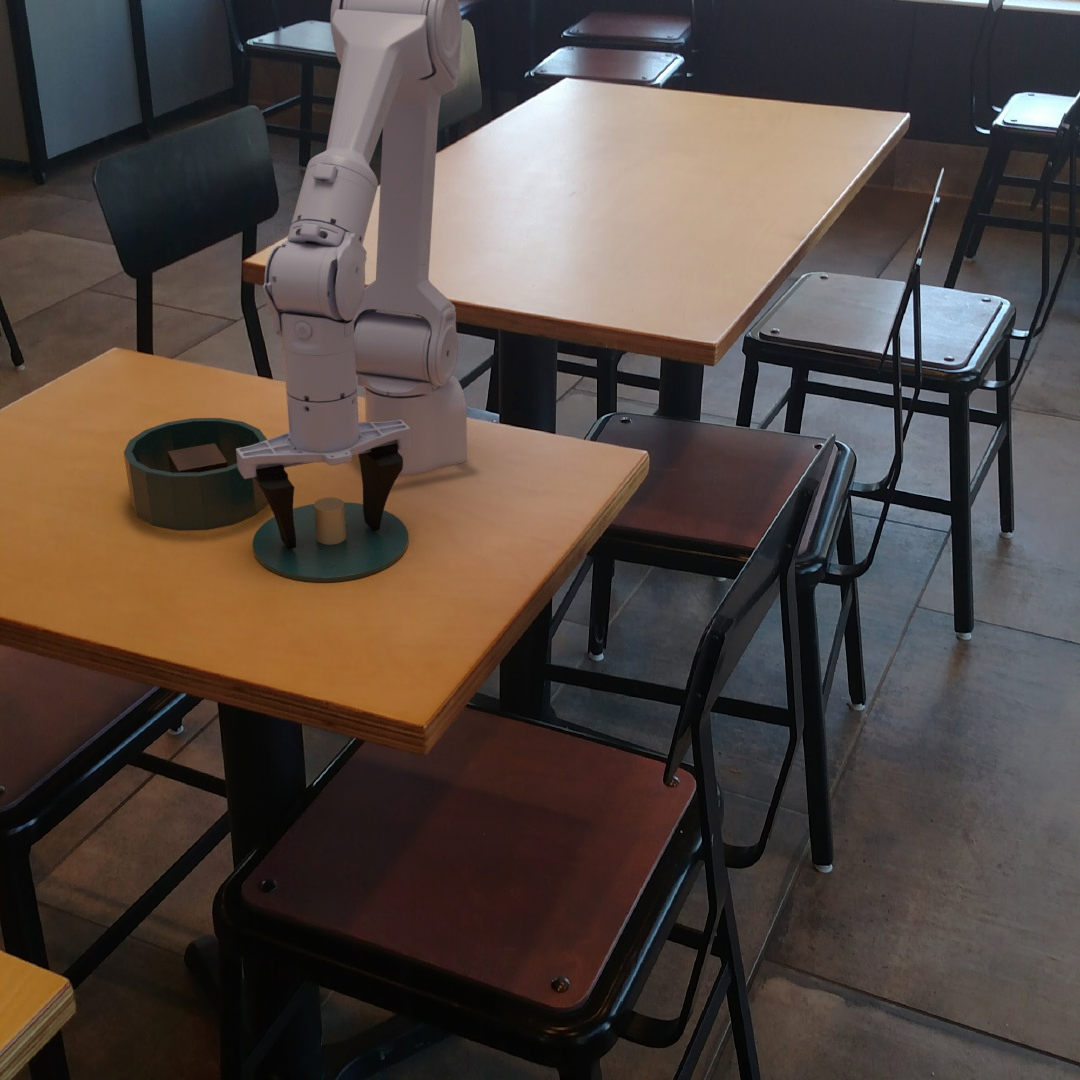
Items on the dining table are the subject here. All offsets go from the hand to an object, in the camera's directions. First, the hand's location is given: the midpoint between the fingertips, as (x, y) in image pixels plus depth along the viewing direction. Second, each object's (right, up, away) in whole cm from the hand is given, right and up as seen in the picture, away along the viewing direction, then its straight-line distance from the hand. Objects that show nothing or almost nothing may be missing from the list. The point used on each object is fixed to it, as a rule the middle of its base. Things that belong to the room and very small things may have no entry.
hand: (330, 534), depth 109 cm
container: (-13, +3, +7) cm, 15 cm away
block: (-13, +3, +7) cm, 15 cm away
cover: (0, -1, 0) cm, 1 cm away
